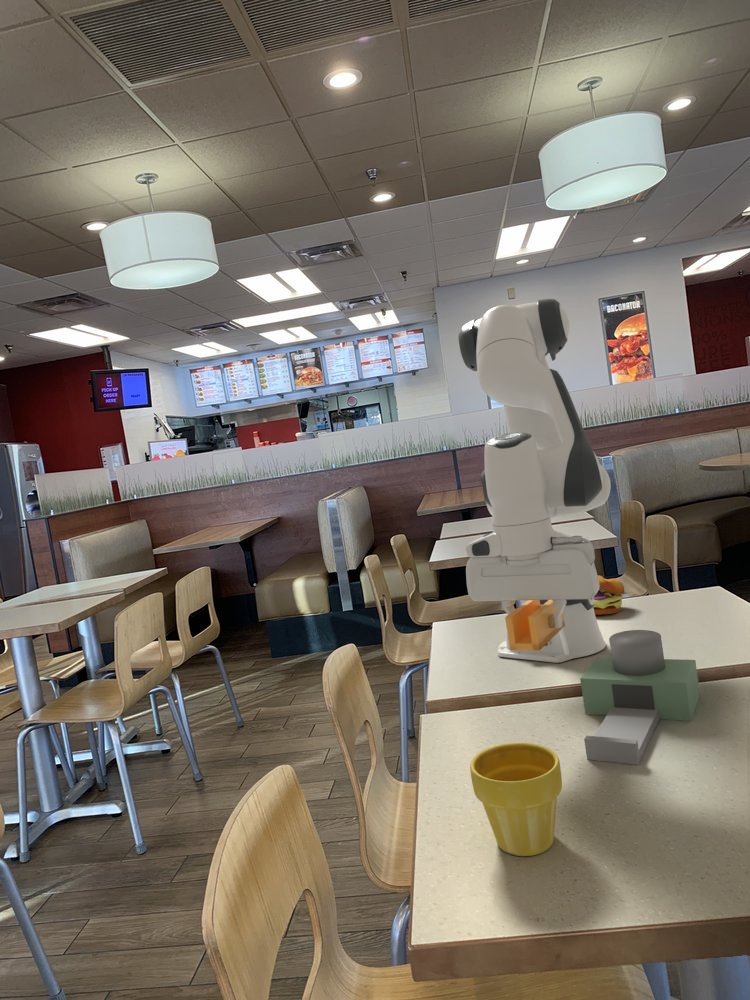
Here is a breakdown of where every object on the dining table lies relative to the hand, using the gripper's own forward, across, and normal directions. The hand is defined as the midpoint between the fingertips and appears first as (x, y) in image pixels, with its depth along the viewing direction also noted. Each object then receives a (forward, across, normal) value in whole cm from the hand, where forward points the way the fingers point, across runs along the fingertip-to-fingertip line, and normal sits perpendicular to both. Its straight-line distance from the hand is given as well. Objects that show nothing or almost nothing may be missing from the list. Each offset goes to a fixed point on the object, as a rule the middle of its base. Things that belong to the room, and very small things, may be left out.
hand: (537, 627), depth 107 cm
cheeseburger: (+17, +10, -67) cm, 70 cm away
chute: (+2, 0, 0) cm, 2 cm away
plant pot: (+17, -6, +28) cm, 33 cm away
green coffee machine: (+17, -11, -5) cm, 21 cm away
